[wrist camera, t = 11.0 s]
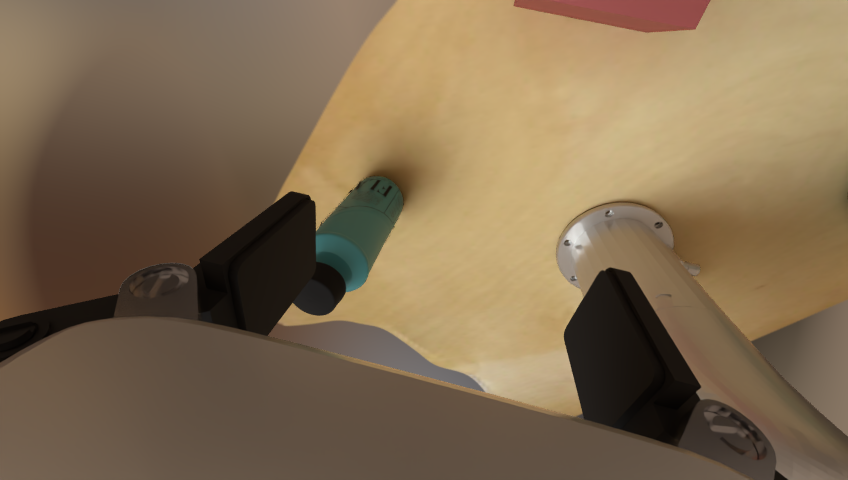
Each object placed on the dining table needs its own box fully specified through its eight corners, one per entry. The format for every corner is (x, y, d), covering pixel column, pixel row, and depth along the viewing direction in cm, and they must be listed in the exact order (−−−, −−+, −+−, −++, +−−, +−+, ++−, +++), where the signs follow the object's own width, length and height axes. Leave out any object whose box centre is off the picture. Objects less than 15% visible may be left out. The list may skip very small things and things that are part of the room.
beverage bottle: (407, 172, 39) (346, 268, 22) (407, 220, 43) (354, 335, 26) (356, 167, 40) (260, 257, 23) (360, 215, 44) (279, 323, 27)
